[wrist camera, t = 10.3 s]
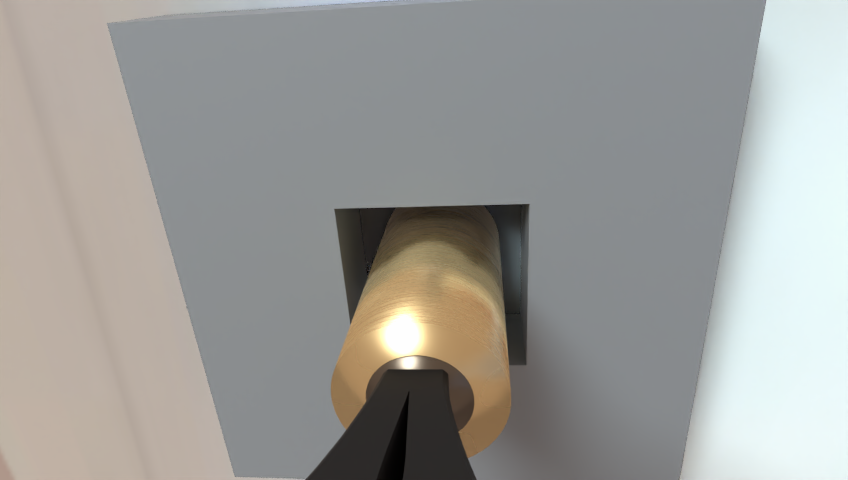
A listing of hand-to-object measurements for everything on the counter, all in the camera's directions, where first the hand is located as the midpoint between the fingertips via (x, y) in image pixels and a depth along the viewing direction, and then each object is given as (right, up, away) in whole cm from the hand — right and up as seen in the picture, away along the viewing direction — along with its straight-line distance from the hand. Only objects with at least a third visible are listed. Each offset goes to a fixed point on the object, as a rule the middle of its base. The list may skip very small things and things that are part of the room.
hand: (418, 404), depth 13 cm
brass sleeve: (+1, +4, +7) cm, 8 cm away
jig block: (+1, +3, +7) cm, 8 cm away
